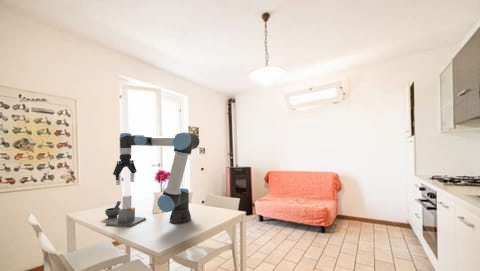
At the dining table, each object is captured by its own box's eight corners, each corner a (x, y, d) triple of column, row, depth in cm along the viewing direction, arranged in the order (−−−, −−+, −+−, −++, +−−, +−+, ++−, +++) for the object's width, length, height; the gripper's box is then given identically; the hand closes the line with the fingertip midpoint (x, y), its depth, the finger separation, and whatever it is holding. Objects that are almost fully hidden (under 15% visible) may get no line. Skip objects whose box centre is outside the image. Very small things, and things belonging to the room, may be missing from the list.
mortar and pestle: (110, 220, 156) (110, 204, 157) (102, 219, 160) (102, 203, 161) (124, 216, 166) (124, 201, 167) (116, 215, 170) (116, 200, 171)
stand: (146, 219, 158) (146, 205, 158) (130, 227, 142) (130, 211, 143) (123, 218, 162) (123, 204, 163) (105, 225, 147) (106, 210, 147)
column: (131, 219, 154) (131, 195, 155) (126, 221, 150) (127, 196, 151) (125, 218, 155) (126, 195, 156) (121, 220, 151) (121, 196, 152)
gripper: (133, 153, 169) (133, 180, 167) (107, 154, 144) (106, 186, 143) (141, 153, 167) (141, 180, 165) (116, 154, 143) (116, 186, 141)
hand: (125, 183), depth 154 cm, fingers open, 13 cm apart
